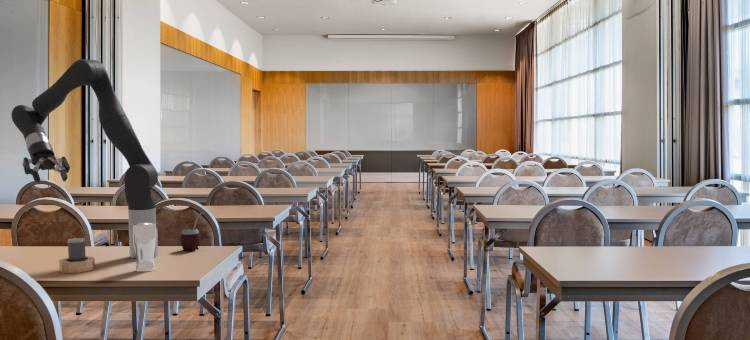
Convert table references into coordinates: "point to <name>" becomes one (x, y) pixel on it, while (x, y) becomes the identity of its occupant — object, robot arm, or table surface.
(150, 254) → the beer glass
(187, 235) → the mate gourd
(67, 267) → the wooden polygonal ring
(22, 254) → the table surface
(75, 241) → the plug
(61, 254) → the table surface
